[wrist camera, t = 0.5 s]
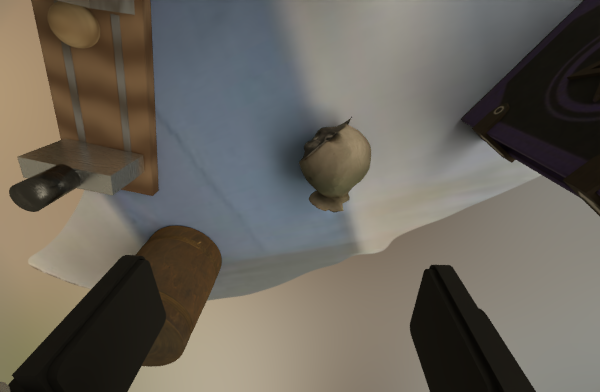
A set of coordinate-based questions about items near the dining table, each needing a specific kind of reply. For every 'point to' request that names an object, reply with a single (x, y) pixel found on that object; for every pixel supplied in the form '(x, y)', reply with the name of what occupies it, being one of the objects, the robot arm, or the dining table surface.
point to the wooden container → (180, 285)
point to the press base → (106, 82)
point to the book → (552, 107)
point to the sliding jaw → (72, 172)
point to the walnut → (73, 24)
